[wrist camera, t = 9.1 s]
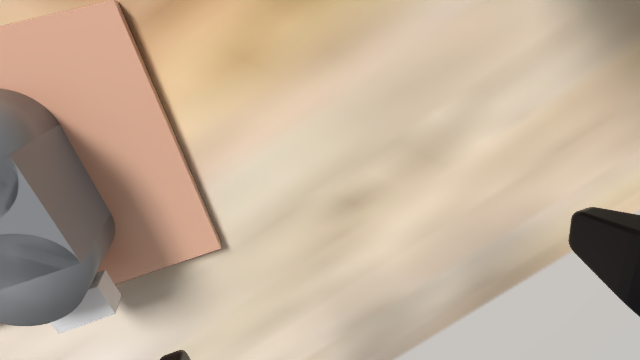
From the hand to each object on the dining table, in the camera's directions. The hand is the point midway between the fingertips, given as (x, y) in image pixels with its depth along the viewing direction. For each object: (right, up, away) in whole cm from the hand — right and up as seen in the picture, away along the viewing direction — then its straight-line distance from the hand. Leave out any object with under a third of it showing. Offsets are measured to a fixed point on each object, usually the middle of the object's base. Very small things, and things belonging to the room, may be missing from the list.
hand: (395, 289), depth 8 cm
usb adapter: (-14, +2, +8) cm, 16 cm away
